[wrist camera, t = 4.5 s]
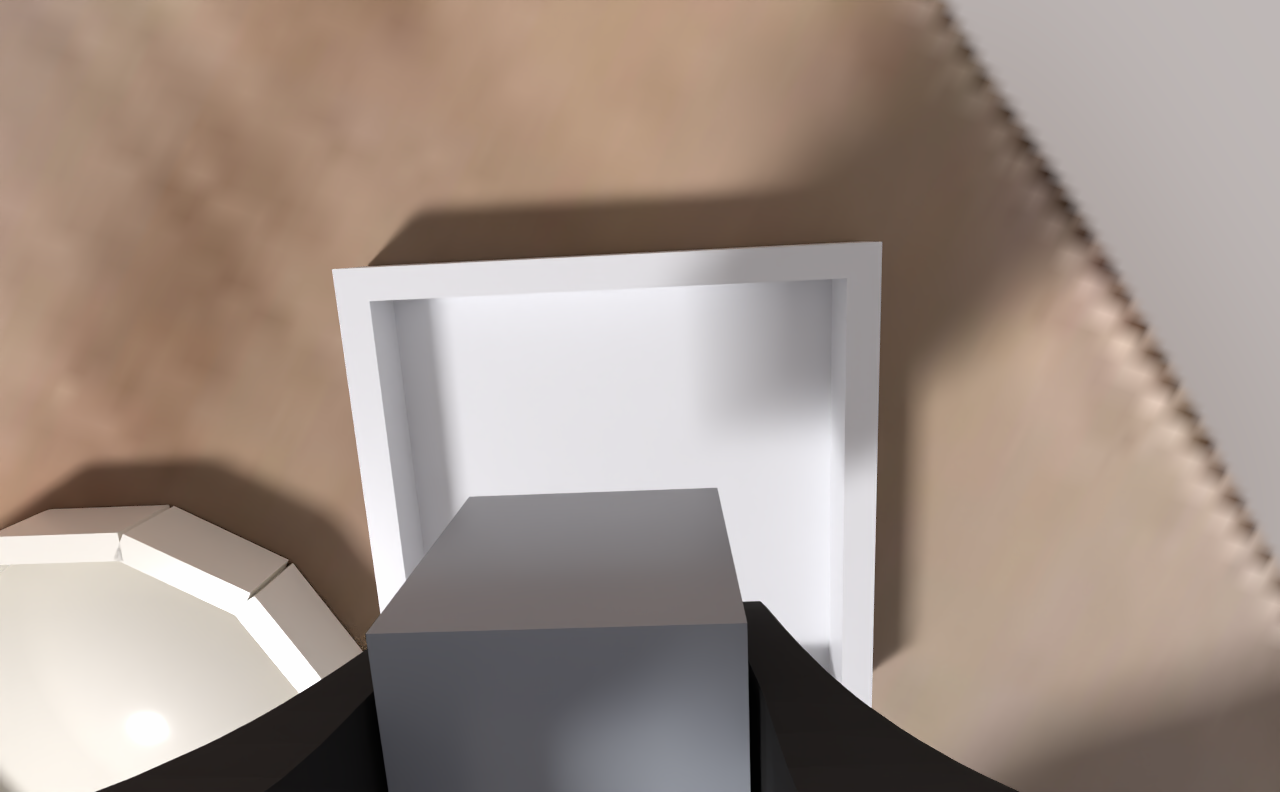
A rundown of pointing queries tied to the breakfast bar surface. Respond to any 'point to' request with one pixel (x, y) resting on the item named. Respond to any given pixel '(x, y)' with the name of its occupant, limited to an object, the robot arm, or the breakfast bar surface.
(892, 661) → the breakfast bar surface
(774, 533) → the parts tray
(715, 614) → the block
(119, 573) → the bowl
